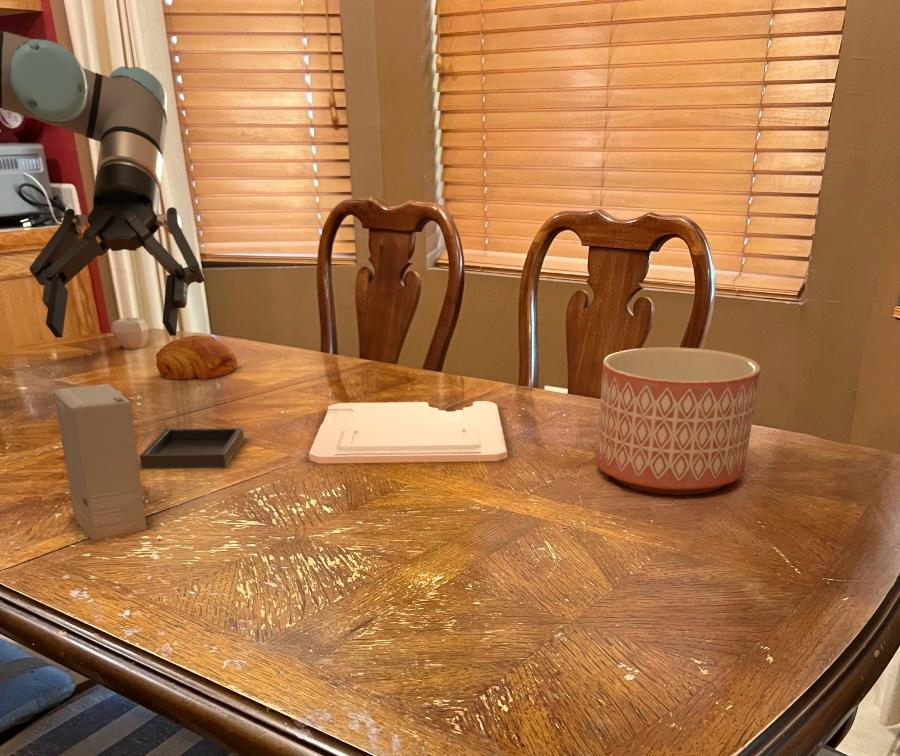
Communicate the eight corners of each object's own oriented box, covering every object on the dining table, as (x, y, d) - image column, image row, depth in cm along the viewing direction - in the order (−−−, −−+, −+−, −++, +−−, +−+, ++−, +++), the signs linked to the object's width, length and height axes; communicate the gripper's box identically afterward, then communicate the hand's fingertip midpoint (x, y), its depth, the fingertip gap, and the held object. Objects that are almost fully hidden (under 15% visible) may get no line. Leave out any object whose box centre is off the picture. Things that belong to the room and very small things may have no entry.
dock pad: (142, 470, 119) (139, 455, 118) (167, 442, 130) (165, 428, 129) (225, 469, 119) (223, 454, 118) (244, 441, 130) (242, 427, 129)
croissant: (148, 387, 168) (135, 347, 164) (204, 361, 179) (194, 322, 174) (200, 394, 161) (188, 353, 157) (255, 366, 172) (246, 326, 168)
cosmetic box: (74, 521, 103) (43, 389, 95) (133, 508, 106) (108, 380, 99) (93, 545, 97) (62, 405, 89) (156, 530, 100) (131, 395, 93)
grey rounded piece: (137, 343, 196) (132, 313, 193) (159, 347, 192) (154, 316, 189) (107, 349, 191) (101, 318, 188) (129, 353, 187) (123, 322, 184)
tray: (330, 410, 145) (330, 401, 144) (496, 407, 145) (496, 398, 144) (308, 465, 120) (307, 454, 119) (508, 462, 120) (508, 451, 120)
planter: (660, 511, 103) (674, 389, 97) (567, 466, 118) (573, 357, 111) (774, 483, 112) (794, 368, 105) (673, 444, 126) (685, 341, 120)
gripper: (235, 203, 111) (225, 346, 105) (42, 206, 111) (21, 349, 105) (220, 158, 104) (208, 308, 98) (14, 161, 104) (-11, 312, 98)
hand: (111, 330), depth 101 cm, fingers open, 13 cm apart
